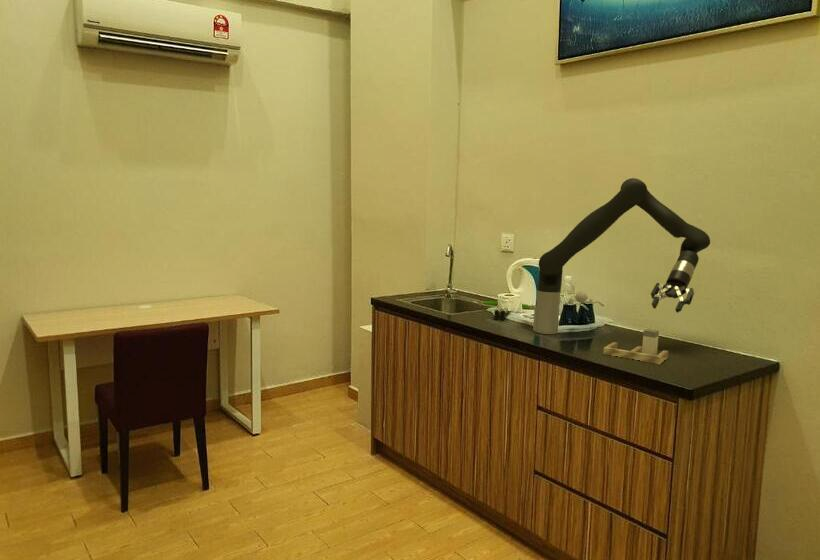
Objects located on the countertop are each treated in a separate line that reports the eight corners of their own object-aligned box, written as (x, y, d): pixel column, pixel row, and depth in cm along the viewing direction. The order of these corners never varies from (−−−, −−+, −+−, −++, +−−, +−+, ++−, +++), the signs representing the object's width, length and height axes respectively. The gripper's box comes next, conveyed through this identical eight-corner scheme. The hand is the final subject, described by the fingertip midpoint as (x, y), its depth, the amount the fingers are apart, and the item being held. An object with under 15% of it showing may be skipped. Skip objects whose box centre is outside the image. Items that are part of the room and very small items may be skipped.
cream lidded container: (641, 357, 228) (643, 330, 227) (645, 355, 231) (647, 328, 230) (652, 360, 225) (655, 332, 224) (656, 358, 229) (659, 330, 227)
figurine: (531, 324, 281) (537, 311, 309) (532, 311, 280) (537, 299, 309) (467, 319, 288) (478, 307, 317) (468, 305, 287) (479, 294, 316)
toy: (590, 323, 285) (593, 290, 283) (593, 326, 278) (596, 292, 276) (564, 322, 286) (567, 289, 284) (566, 325, 279) (569, 291, 277)
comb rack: (603, 354, 231) (603, 347, 230) (612, 348, 240) (613, 342, 240) (659, 364, 220) (660, 357, 219) (667, 357, 229) (668, 351, 229)
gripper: (660, 266, 243) (643, 299, 237) (698, 271, 234) (682, 306, 228) (664, 279, 248) (648, 311, 242) (702, 284, 238) (686, 318, 232)
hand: (665, 309), depth 235 cm, fingers open, 8 cm apart
